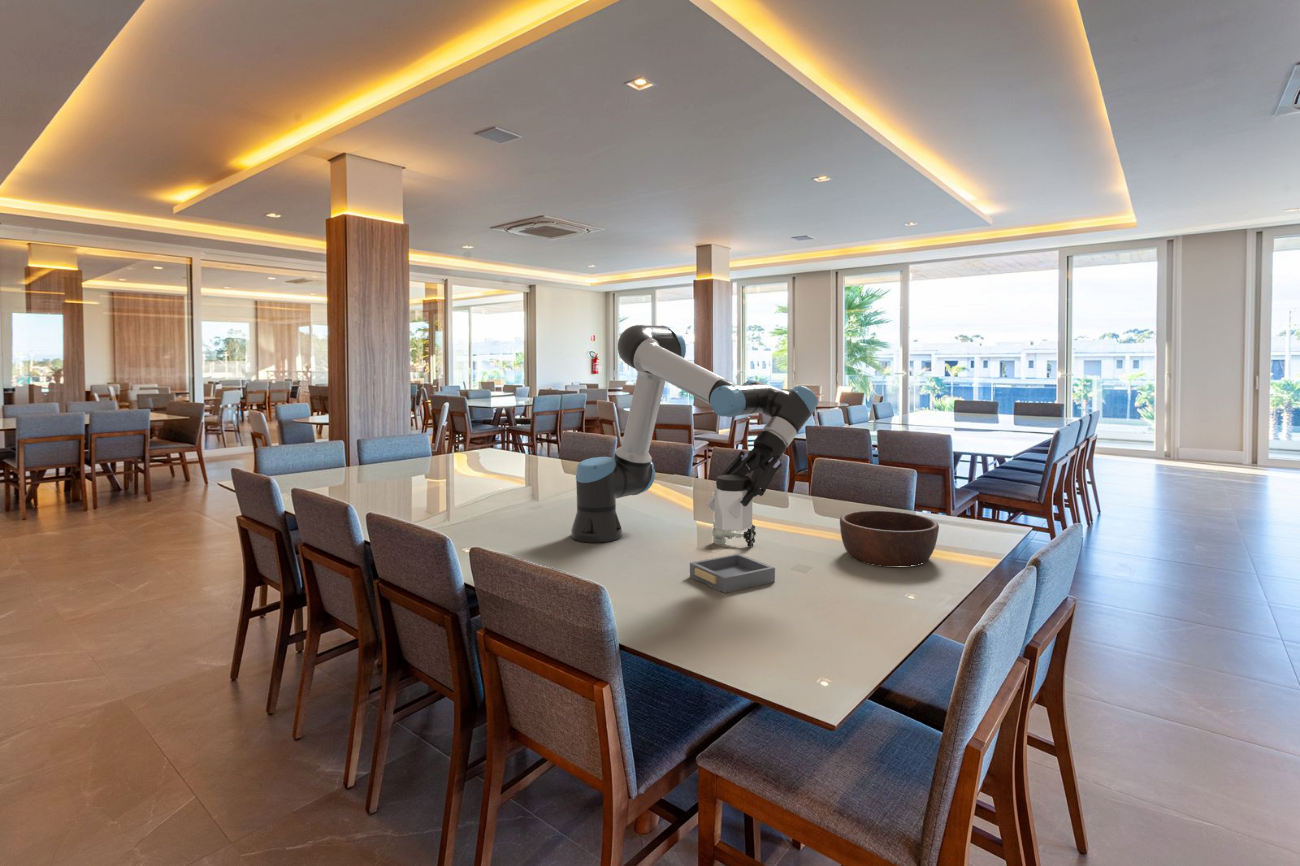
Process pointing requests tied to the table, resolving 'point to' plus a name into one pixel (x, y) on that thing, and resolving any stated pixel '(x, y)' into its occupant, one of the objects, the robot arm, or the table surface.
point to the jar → (724, 499)
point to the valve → (732, 535)
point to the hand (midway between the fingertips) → (721, 511)
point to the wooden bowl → (888, 537)
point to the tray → (732, 572)
